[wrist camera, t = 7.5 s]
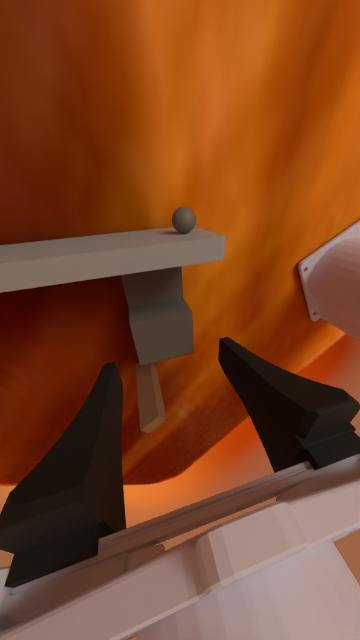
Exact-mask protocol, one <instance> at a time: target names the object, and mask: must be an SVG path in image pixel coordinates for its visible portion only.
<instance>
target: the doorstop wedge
mask: <svg viewBox="0 0 360 640" xmlns="http://www.w3.org/2000/svg"><path fill="white" fill-rule="evenodd" d="M121 279H122V283H123V287H124V291H125V295H126V299H127V303H128V307H129V322H130V328H131V332H132V335H133V339H134V343H135V347H136V351H137V355H138V359H139V363H140V365H145V364H149V363H153V362H158V361H162V360H166V359H170V358H175V357H179V356H183V355H187V354H192V353H194V346H193V320H192V311H191V310H190V308H189V306H188V305H187V303H186V302H185V300H184V299H183V289H182V273H181V266H179V267H172V268H165V269H158V270H152V271H145V272H138V273H131V274H124V275H121Z"/></svg>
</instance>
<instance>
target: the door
mask: <svg viewBox="0 0 360 640" xmlns="http://www.w3.org/2000/svg"><path fill="white" fill-rule="evenodd" d="M172 223H173V226H174V227H169V228H159V229H150V230H141V231H131V232H122V233H113V234H103V235H94V236H85V237H75V238H66V239H56V240H47V241H38V242H28V243H19V244H10V245H0V293H1V292H8V291H15V290H21V289H28V288H35V287H42V286H49V285H56V284H63V283H69V282H76V281H83V280H90V279H97V278H104V277H110V276H117V275H124V274H131V273H138V272H145V271H152V270H158V269H165V268H172V267H179V266H186V265H193V264H199V263H206V262H213V261H220V260H224V256H225V240H226V236H223V235H220V234H217V233H214V232H211V231H207V230H204V229H201V228H198V227H195V223H196V217H195V214H194V212H193V211H192V210H191V209H190V208H188V207H180V208H178V209H177V210H176V211H175V212H174V214H173V217H172Z"/></svg>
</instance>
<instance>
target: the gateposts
mask: <svg viewBox="0 0 360 640" xmlns="http://www.w3.org/2000/svg"><path fill="white" fill-rule="evenodd" d="M135 369H136V381H137V393H138V406H139V418H140V430H141V431H144V432H147V433H150V432H152V431H153V430H154V429H156V428H157V427H158V426H160V425H161V424H162V423H164V422H165V421H166V420H167V417H166V413H165V408H164V403H163V398H162V393H161V388H160V384H159V379H158V374H157V369H156V364H155V362H153V363H149V364H145V365H140V363H139V362H138V363H137V364H136V365H135Z"/></svg>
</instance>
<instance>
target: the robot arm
mask: <svg viewBox="0 0 360 640" xmlns="http://www.w3.org/2000/svg"><path fill="white" fill-rule="evenodd" d="M304 268H305V269H304ZM298 270H299V274H300V278H301V282H302V286H303V291H304V295H305V299H306V303H307V307H308V311H309V316H310V320H311V321H313V322H314V321H317V320H318V319H320V318H321V319H323V320H325V321H327V322H328V323H330V324H332V325H333V326H335V327H337V328H339V329H340V330H342V331H344V332H345V333H347V334H349V335H351V336H352V337H354V338H356V339H358V340H359V341H360V220H359V221H357V222H356V223H355V224H353V225H352V226H350V227H349V228H348V229H346V230H345V231H343V232H342V233H340V234H339V235H338V236H336V237H335V238H333V239H332V240H330V241H329V242H328V243H326V244H325V245H323V246H322V247H321V248H319V249H318V250H316V251H315V252H313V253H312V254H311V255H309V256H308V257H306V258H305V259H304V260H302V261H301V262H300V263H299V265H298ZM218 360H219V362H220V365H221V367H222V369H223V371H224V373H225V375H226V376H227V378H228V380H229V381H230V383H231V384H232V386H233V388H234V389H235V391H236V392H237V394H238V395H239V397H240V399H241V400H242V402H243V404H244V406H245V408H246V410H247V412H248V414H249V416H250V418H251V419H252V422H253V424H254V426H255V428H256V430H257V432H258V435H259V437H260V439H261V441H262V444H263V446H264V448H265V451H266V453H267V456H268V458H269V460H270V463H271V465H272V468H273V470H274V473H273V474H270V475H268V476H265V477H262V478H260V479H257V480H254V481H252V482H249V483H247V484H244V485H241V486H239V487H236V488H233V489H231V490H228V491H225V492H223V493H220V494H217V495H215V496H212V497H209V498H207V499H204V500H201V501H199V502H196V503H193V504H191V505H188V506H185V507H183V508H180V509H177V510H175V511H172V512H169V513H167V514H164V515H162V516H159V517H156V518H153V519H151V520H148V521H145V522H143V523H140V524H137V525H135V526H132V527H129V528H127V529H126V520H125V506H124V492H123V475H122V453H121V428H122V411H123V387H122V381H121V378H120V375H119V372H118V369H117V366H116V363H115V362H111V363H107V364H105V365H104V366H103V368H102V371H101V373H100V375H99V377H98V379H97V381H96V383H95V385H94V387H93V389H92V391H91V392H90V394H89V396H88V398H87V399H86V401H85V403H84V404H83V406H82V408H81V409H80V411H79V412H78V414H77V415H76V417H75V418H74V420H73V421H72V423H71V424H70V425H69V427H68V428H67V429H66V431H65V432H64V433H63V435H62V436H61V437H60V439H59V440H58V441H57V442H56V444H55V445H54V446H53V447H52V448H51V449H50V451H49V452H48V453H47V454H46V455H45V456H44V457H43V459H42V460H41V461H40V462H39V463H38V464H37V465H36V467H35V468H34V469H33V470H32V471H31V472H30V473H29V474H28V475H27V476H26V477H25V478H24V479H23V480H22V481H21V482H20V483H19V484H18V485H17V486H16V487H15V488H14V489H13V490H12V491H11V492H10V494H9V496H8V498H7V500H6V502H5V504H4V507H3V509H2V511H1V514H0V550H4V551H7V552H10V553H13V554H14V557H13V560H12V564H11V566H8V567H2V568H0V640H129V639H131V638H133V637H135V636H137V640H360V586H359V584H358V583H357V581H356V579H355V578H354V576H353V574H352V573H351V571H350V570H349V568H348V566H347V565H346V563H345V561H344V560H343V558H342V557H341V555H340V553H339V552H338V550H337V549H336V547H335V545H334V544H333V542H334V541H336V540H338V539H340V538H342V537H344V536H346V535H348V534H350V533H352V532H354V531H356V530H358V529H360V437H358V435H357V434H355V432H354V431H355V430H356V429H355V427H354V426H352V424H350V422H351V421H352V419H353V418H354V417H355V415H356V414H357V413H358V411H359V409H360V404H359V402H357V401H356V400H355V399H354V398H353V397H352V396H350V395H349V394H348V393H347V392H346V391H344V390H343V389H340V388H336V387H332V386H329V385H325V384H321V383H318V382H315V381H312V380H309V379H306V378H303V377H301V376H298V375H296V374H293V373H291V372H288V371H286V370H284V369H281V368H279V367H277V366H275V365H273V364H271V363H269V362H267V361H265V360H264V359H262V358H260V357H258V356H257V355H255V354H253V353H252V352H250V351H248V350H247V349H245V348H244V347H242V346H241V345H239V344H238V343H236V342H235V341H233V340H232V339H230V338H229V337H225V338H220V342H219V357H218ZM278 495H279V496H278ZM276 496H277V497H276ZM273 497H276V502H273V503H270V504H268V505H266V506H263V507H260V508H258V509H255V510H253V511H250V512H248V513H246V514H243V515H241V516H238V517H236V518H233V519H231V520H229V521H226V522H223V523H221V524H219V525H216V526H214V527H212V528H210V529H208V530H207V531H205V532H203V533H201V534H199V535H197V536H195V537H193V538H191V539H189V540H187V541H185V542H183V543H181V544H179V545H177V546H175V547H172V548H171V549H168V550H167V551H165V548H164V545H163V544H160V545H156V544H159V543H161V542H164V541H166V540H169V539H171V538H174V537H176V536H179V535H181V534H184V533H186V532H188V531H191V530H193V529H196V528H198V527H201V526H203V525H206V524H208V523H211V522H213V521H216V520H218V519H221V518H223V517H226V516H228V515H231V514H233V513H236V512H238V511H241V510H243V509H246V508H248V507H251V506H253V505H256V504H258V503H261V502H263V501H266V500H268V499H271V498H273ZM154 545H156V546H154Z"/></svg>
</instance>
